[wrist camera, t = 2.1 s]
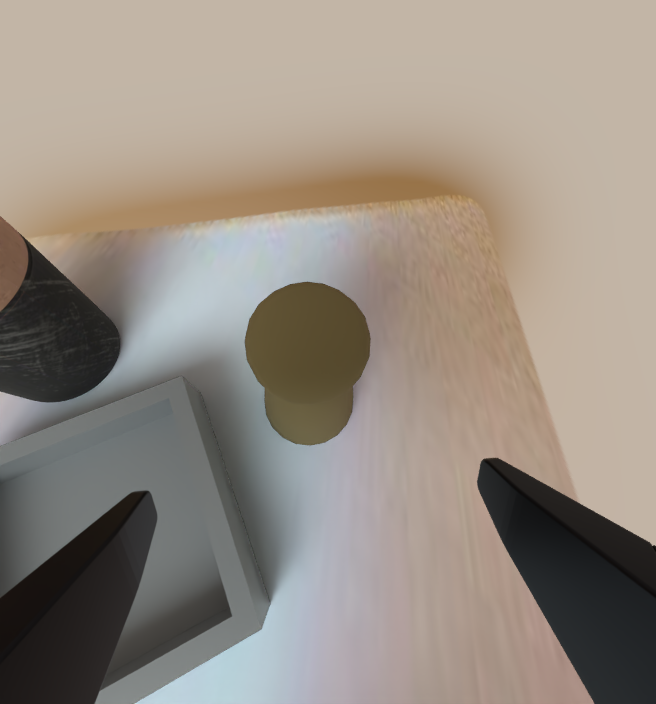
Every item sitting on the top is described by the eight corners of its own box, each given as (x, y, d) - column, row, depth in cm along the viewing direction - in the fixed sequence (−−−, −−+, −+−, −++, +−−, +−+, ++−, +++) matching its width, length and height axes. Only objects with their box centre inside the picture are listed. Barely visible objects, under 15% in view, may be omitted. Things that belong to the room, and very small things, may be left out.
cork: (367, 426, 22) (416, 369, 12) (280, 459, 21) (251, 428, 10) (334, 348, 24) (351, 242, 14) (253, 374, 23) (208, 281, 13)
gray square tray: (270, 604, 18) (261, 629, 14) (2, 756, 15) (-82, 829, 12) (200, 392, 22) (181, 375, 19) (-16, 480, 19) (-81, 477, 16)
